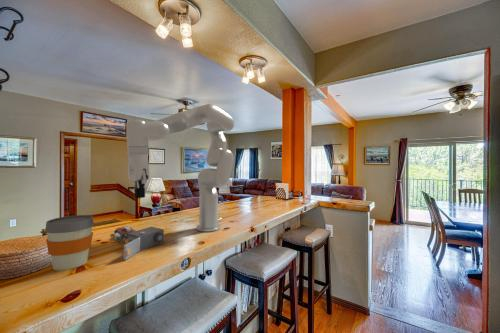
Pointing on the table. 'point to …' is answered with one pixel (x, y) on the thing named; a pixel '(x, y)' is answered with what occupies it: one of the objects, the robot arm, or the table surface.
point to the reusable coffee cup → (69, 240)
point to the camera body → (147, 237)
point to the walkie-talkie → (122, 233)
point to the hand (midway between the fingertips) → (140, 197)
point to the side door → (131, 248)
